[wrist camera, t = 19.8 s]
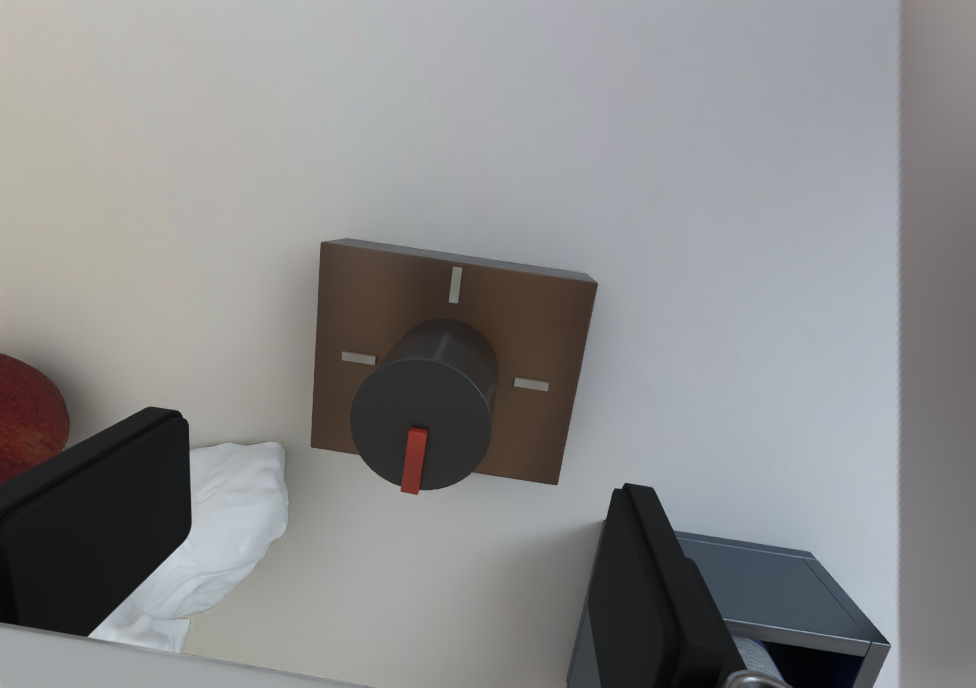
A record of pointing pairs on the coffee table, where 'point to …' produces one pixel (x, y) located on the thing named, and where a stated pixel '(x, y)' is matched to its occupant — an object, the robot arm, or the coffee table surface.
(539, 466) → the rotary dial switch
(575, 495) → the coffee table surface
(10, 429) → the apple
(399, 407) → the tap knob
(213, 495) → the white tied bag
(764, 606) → the grey open box
